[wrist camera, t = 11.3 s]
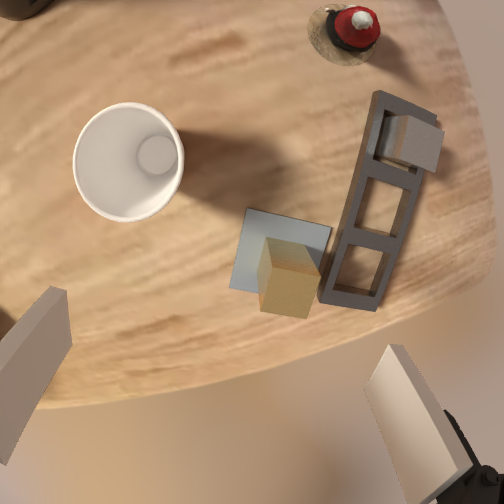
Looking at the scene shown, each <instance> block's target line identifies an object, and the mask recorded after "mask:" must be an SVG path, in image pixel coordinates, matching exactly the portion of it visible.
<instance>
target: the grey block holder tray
mask: <svg viewBox="0 0 504 504" xmlns="http://www.w3.org/2000/svg"><path fill="white" fill-rule="evenodd" d="M384 113H386V114H389V115H391V116H405V115H410V116H412V117H415V118H417V119H419V120H421V121H423V122H426V123H428V124H430V125H432V126H434V127H435V123H436V118H437V115H435V114H433V113H431V112H429V111H427V110H425V109H423V108H421V107H419V106H416V105H414V104H412V103H410V102H408V101H405V100H403V99H401V98H399V97H396V96H394V95H391V94H389V93H387V92H384V91H382V90H378V91H375V92H373V96H372V100H371V105H370V109H369V114H368V118H367V122H366V127H365V131H364V135H363V139H362V143H361V147H360V151H359V155H358V159H357V163H356V167H355V170H354V174H353V178H352V181H351V185H350V189H349V192H348V196H347V199H346V203H345V206H344V210H343V213H342V217H341V220H340V223H339V227H338V230H337V233H336V237H335V240H334V243H333V246H332V250H331V253H330V256H329V259H328V262H327V265H326V268H325V271H324V274H323V277H322V280H321V283H320V286H319V289H318V292H317V298H318V300H319V302H320V303H323V304H329V305H335V306H341V307H347V308H354V309H360V310H366V311H373V312H376V310H377V307H378V305H379V303H380V300H381V298H382V295H383V293H384V290H385V288H386V285H387V283H388V280H389V278H390V275H391V273H392V270H393V267H394V265H395V262H396V259H397V256H398V254H399V251H400V248H401V245H402V242H403V239H404V236H405V233H406V230H407V227H408V224H409V221H410V218H411V215H412V212H413V209H414V205H415V202H416V199H417V195H418V192H419V188H420V185H421V181H422V177H423V174H424V170H421V169H417V168H413V167H410V168H409V171H408V172H407V171H404V170H401V169H399V168H396V167H393V166H390V165H388V164H385V163H382V162H379V161H376V160H373V155H374V151H375V147H376V143H377V139H378V135H379V131H380V127H381V122H382V118H383V114H384ZM368 177H371V178H375V179H378V180H381V181H384V182H387V183H390V184H393V185H396V186H399V187H401V188H404V189H403V193H402V196H401V200H400V203H399V206H398V210H397V213H396V216H395V219H394V223H393V226H392V229H391V232H390V234H389V233H386V232H382V231H378V230H375V229H371V228H367V227H363V226H359V225H356V224H354V223H355V220H356V216H357V213H358V210H359V206H360V203H361V199H362V196H363V192H364V189H365V185H366V182H367V178H368ZM348 244H352V245H356V246H360V247H365V248H369V249H373V250H377V251H381V252H383V255H382V258H381V261H380V264H379V266H378V269H377V272H376V274H375V277H374V280H373V282H372V285H371V288H370V290H365V289H359V288H354V287H349V286H343V285H338V284H335V281H336V278H337V275H338V272H339V269H340V266H341V264H342V261H343V258H344V254H345V251H346V248H347V245H348Z"/></svg>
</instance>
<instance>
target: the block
mask: <svg viewBox="0 0 504 504" xmlns="http://www.w3.org/2000/svg"><path fill="white" fill-rule="evenodd" d="M444 133H445V131H442V130H440V129H438V128H436V127H434V126H432V125H430V124H428V123H426V122H423V121H421V120H419V119H417V118H415V117H412V116H410V115H405V116H393V117H383V118H382V122H381V127H380V131H379V135H378V139H377V143H376V147H375V151H374V155H377V156H380V157H382V158H385V159H388V160H391V161H394V162H397V163H399V164H402V165H405V166H409V167H413V168H417V169H421V170H425V171H429V172H433V173H435V172H436V168H437V164H438V159H439V155H440V151H441V147H442V142H443V137H444Z"/></svg>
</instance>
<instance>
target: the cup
mask: <svg viewBox="0 0 504 504" xmlns="http://www.w3.org/2000/svg"><path fill="white" fill-rule="evenodd" d="M184 155H185V152H184V147H183V144H182V142H181V140H180V137H179V134H178V132H177V130H176V129H175V127H174V125H173V124H172V123H171V122H170V120H169V119H168V118H167V117H166V116H165V115H164V114H162V113H161V112H159V111H158V110H157V109H155V108H153V107H150V106H148V105H145V104H141V103H135V102H128V103H119V104H116V105H112V106H110V107H108V108H106V109H104V110H102V111H100V112H99V113H98V114H96V115H95V116H94V117H93V118H92V119H91V120H90V121H89V122H88V123H87V124H86V126H85V127H84V129H83V130H82V132H81V134H80V135H79V138H78V140H77V143H76V146H75V150H74V155H73V173H74V178H75V182H76V185H77V188H78V190H79V192H80V194H81V196H82V197H83V199H84V200H85V202H86V203H87V204H88V205H89V206H90V207H91V208H92V209H93V210H94V211H96V212H97V213H98V214H100V215H101V216H103V217H105V218H108V219H110V220H114V221H117V222H129V223H130V222H136V221H141V220H144V219H147V218H149V217H152V216H153V215H155V214H156V213H158V212H159V211H161V210H162V209H163V208H164V207H165V206H166V205H167V204H168V203H169V202H170V201H171V199H172V198H173V196H174V195H175V193H176V191H177V189H178V187H179V185H180V183H181V179H182V175H183V171H184Z"/></svg>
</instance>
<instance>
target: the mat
mask: <svg viewBox="0 0 504 504" xmlns="http://www.w3.org/2000/svg"><path fill="white" fill-rule="evenodd" d="M330 230H331V227H329V226H325V225H321V224H317V223H313V222H308V221H304V220H300V219H295V218H291V217H286V216H282V215H278V214H273V213H269V212H264V211H259V210H255V209H250V208H247V210H246V214H245V219H244V223H243V227H242V232H241V236H240V241H239V245H238V250H237V254H236V258H235V263H234V267H233V272H232V277H231V281H230V286H229V288H232V289H237V290H243V291H248V292H253V293H258V294H259V292H258V281H257V269H258V265H259V261H260V257H261V254H262V250H263V246H264V242H265V238H266V237H271V238H276V239H280V240H285V241H289V242H294V243H299V244H303V245H304V246H305V247H306V249H307V251H308V253H309V255H310V257H311V259H312V260H313V262H314V264H315V266H316V268H317V270H318V269H319V265H320V262H321V259H322V256H323V253H324V250H325V246H326V243H327V240H328V236H329V233H330Z"/></svg>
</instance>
